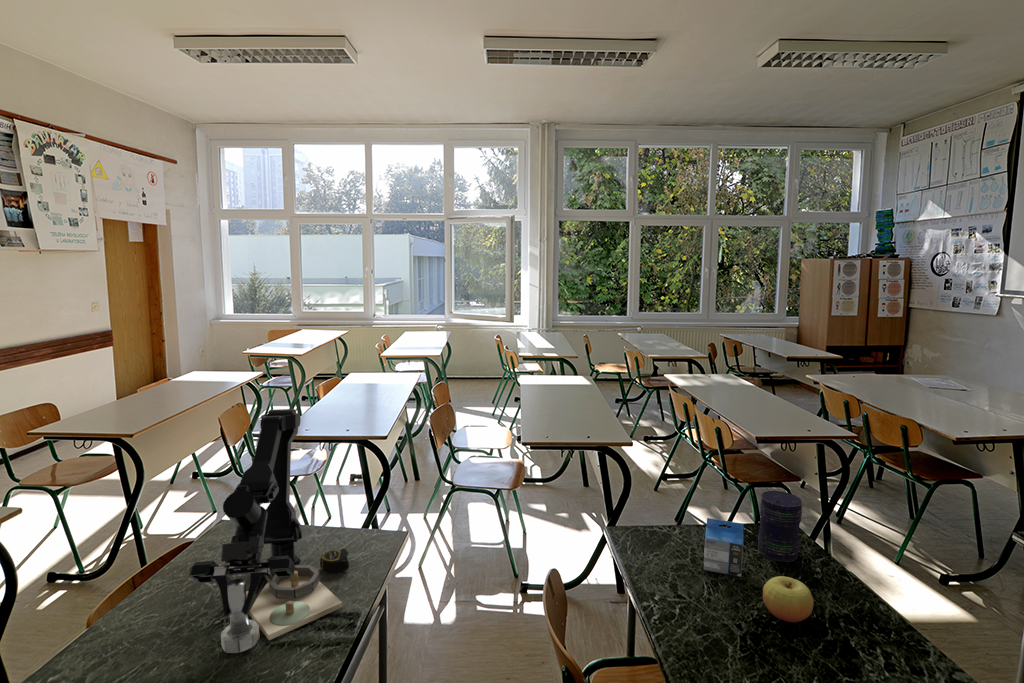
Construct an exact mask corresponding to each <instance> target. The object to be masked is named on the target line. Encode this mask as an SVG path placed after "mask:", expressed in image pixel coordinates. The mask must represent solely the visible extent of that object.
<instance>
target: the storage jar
mask: <svg viewBox="0 0 1024 683" xmlns="http://www.w3.org/2000/svg"><path fill="white" fill-rule="evenodd" d="M760 497H761V500H760V508H759V510H760V511H759V516H760V526H759V529H758V536H757V539H758V541H757V542H758V545H757V550H758V552H759V553H760V554H761V555H763V556H764V557H765V558H768V559H771V560H773V561H778V562H785V563H786V562H787V563H788V562H789V563H790V562H794V561H796V560H797V559H798V557H799V549H800V524H801V522H802V515H803V514H802V513H803V511H802V508H803V499H801V498H800V497H798V496H797V495H794V494H792V493H789V492H786V491H779V490H768V491H764V492H762V493H761V496H760Z"/></svg>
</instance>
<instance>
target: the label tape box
mask: <svg viewBox="0 0 1024 683" xmlns="http://www.w3.org/2000/svg"><path fill="white" fill-rule="evenodd" d="M720 525H721V526H720ZM722 525H726V526H729V527H725V526H722ZM704 538H705V539H704V551H703V552H704V553H703V570H704V571H706V572H707V571H708V572H713V573H720V574H723V575H724V574H725V575H731V576H736V577H740V578H742V571H743V570H742V569H743V556H744V553H743V552H744V523H740V522H735V521H728V520H722V519H716V518H711V517H707V518H706V526H705V536H704Z"/></svg>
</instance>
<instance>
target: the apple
mask: <svg viewBox="0 0 1024 683" xmlns="http://www.w3.org/2000/svg"><path fill="white" fill-rule="evenodd" d="M814 600H815V599H814V597H813V595H812V593H811V590H810V589H809V587H808V586H807V585H805V584H804V583H803V582H802V581H800V580H798V579H794V578H793V577H789V576H780V575H779V576H774V577H772V578H770V579H769V580H768V581H766V582H765V584H764V585H763V588H762V601H763V604H764V605H765V607H766V609H767V610H768V612H769V613H771V614H772V615H773V616H774V617H776V618H777V619H779V620H781V621H785V622H789V623H797V622H799V623H800V622H802V621H804V620H805V619H808V618H809V617H810V615H811V614H812V612H813V610H814V609H813V608H814Z"/></svg>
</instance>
